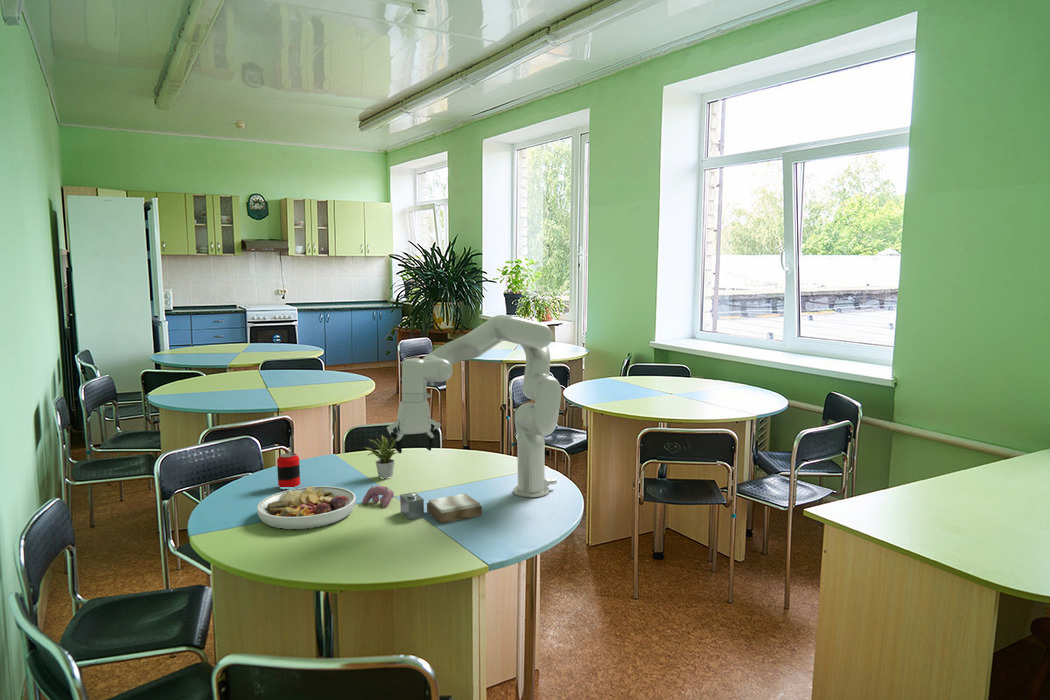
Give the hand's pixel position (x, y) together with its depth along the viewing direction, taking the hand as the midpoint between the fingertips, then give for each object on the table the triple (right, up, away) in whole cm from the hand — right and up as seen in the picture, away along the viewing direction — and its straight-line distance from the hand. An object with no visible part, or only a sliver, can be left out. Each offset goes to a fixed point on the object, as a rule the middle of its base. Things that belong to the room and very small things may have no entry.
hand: (414, 451), depth 211 cm
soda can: (-51, -18, +31) cm, 62 cm away
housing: (-1, -21, +2) cm, 21 cm away
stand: (+13, -21, +2) cm, 24 cm away
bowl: (-34, -21, +2) cm, 41 cm away
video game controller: (-14, -20, +12) cm, 27 cm away
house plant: (-18, -17, +44) cm, 50 cm away
